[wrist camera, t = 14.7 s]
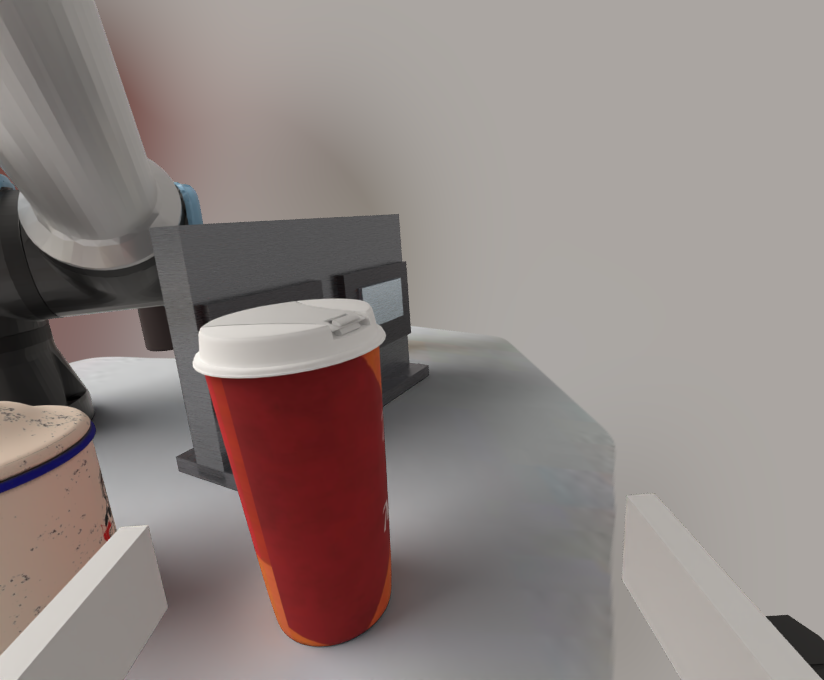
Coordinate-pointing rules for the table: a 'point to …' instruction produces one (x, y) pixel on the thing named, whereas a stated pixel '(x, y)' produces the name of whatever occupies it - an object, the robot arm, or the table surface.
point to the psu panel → (276, 298)
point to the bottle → (155, 328)
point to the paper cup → (307, 457)
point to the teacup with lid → (46, 508)
